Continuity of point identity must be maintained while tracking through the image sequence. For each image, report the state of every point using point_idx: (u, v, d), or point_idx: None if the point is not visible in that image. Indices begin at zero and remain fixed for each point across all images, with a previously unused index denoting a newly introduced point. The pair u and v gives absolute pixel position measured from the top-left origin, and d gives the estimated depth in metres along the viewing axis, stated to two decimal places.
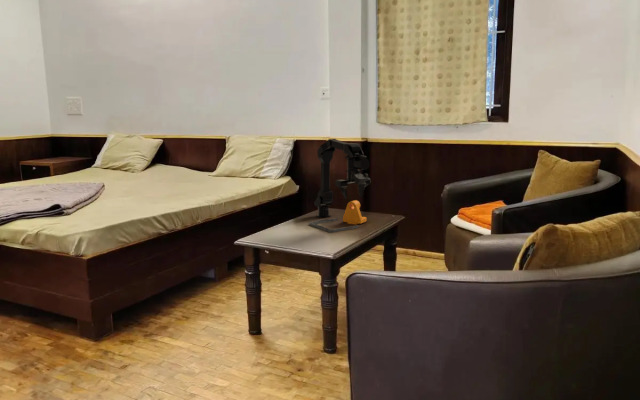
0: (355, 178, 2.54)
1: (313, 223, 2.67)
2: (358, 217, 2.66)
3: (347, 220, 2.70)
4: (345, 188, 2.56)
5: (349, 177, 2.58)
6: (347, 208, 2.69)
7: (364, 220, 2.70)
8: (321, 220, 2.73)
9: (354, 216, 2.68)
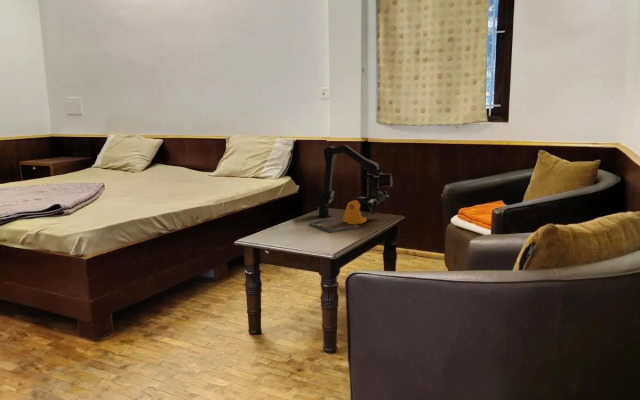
0: (375, 195, 2.70)
1: (313, 223, 2.67)
2: (358, 217, 2.66)
3: (347, 220, 2.70)
4: (372, 204, 2.74)
5: (369, 194, 2.74)
6: (347, 208, 2.69)
7: (364, 220, 2.70)
8: (321, 220, 2.73)
9: (354, 216, 2.68)
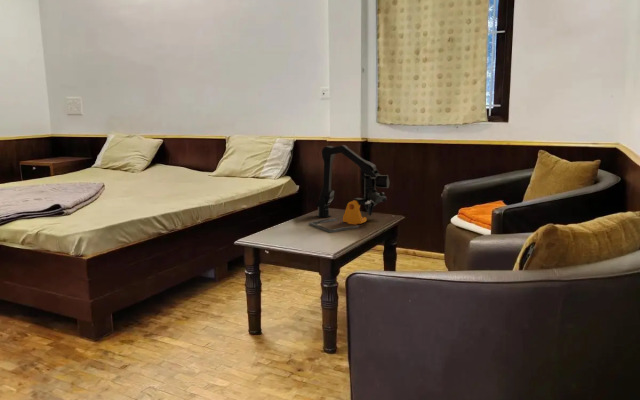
0: (372, 197, 2.69)
1: (313, 223, 2.67)
2: (358, 217, 2.66)
3: (347, 220, 2.70)
4: (369, 205, 2.73)
5: (366, 195, 2.73)
6: (347, 208, 2.69)
7: (364, 220, 2.70)
8: (321, 220, 2.73)
9: (354, 216, 2.68)
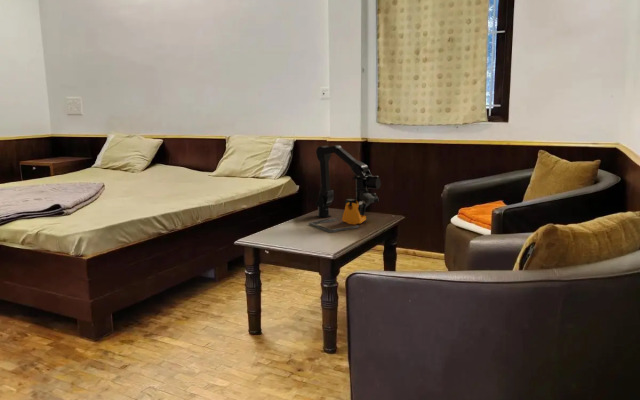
0: (364, 198, 2.66)
1: (313, 223, 2.67)
2: (357, 217, 2.66)
3: (346, 220, 2.70)
4: (361, 206, 2.70)
5: (358, 196, 2.70)
6: (346, 208, 2.68)
7: (363, 219, 2.69)
8: (321, 220, 2.73)
9: (353, 216, 2.67)
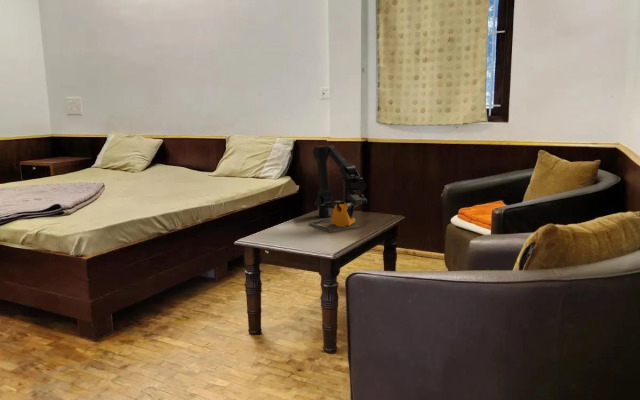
0: (352, 199, 2.62)
1: (313, 223, 2.67)
2: (346, 219, 2.62)
3: (335, 222, 2.66)
4: (349, 208, 2.66)
5: (346, 198, 2.66)
6: (334, 210, 2.64)
7: (353, 221, 2.65)
8: (321, 220, 2.73)
9: (342, 218, 2.63)
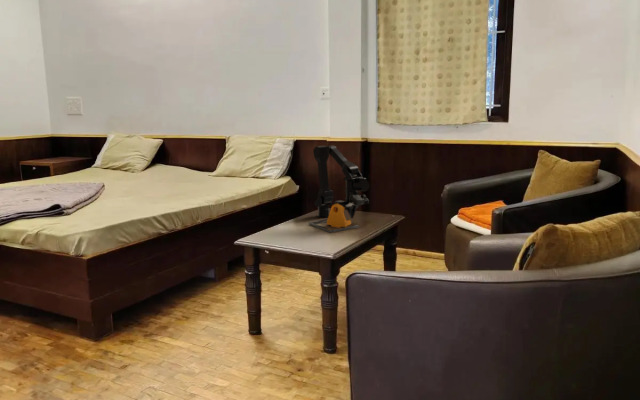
0: (353, 199, 2.63)
1: (313, 223, 2.67)
2: (342, 220, 2.60)
3: (331, 223, 2.64)
4: (351, 208, 2.67)
5: (348, 198, 2.67)
6: (331, 211, 2.63)
7: (348, 223, 2.64)
8: (321, 220, 2.73)
9: (338, 219, 2.62)
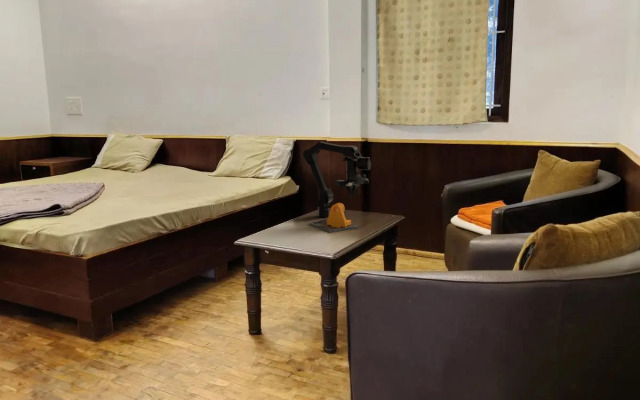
0: (353, 179, 2.71)
1: (313, 223, 2.67)
2: (342, 220, 2.60)
3: (331, 223, 2.64)
4: (351, 187, 2.75)
5: (348, 178, 2.75)
6: (331, 211, 2.63)
7: (348, 223, 2.64)
8: (321, 220, 2.73)
9: (338, 219, 2.62)
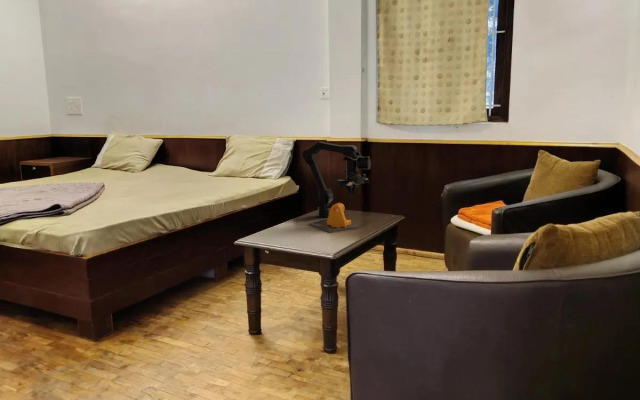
0: (354, 178, 2.71)
1: (313, 223, 2.67)
2: (342, 220, 2.60)
3: (331, 223, 2.64)
4: (351, 187, 2.75)
5: (348, 177, 2.75)
6: (331, 211, 2.63)
7: (348, 223, 2.64)
8: (321, 220, 2.73)
9: (338, 219, 2.62)
